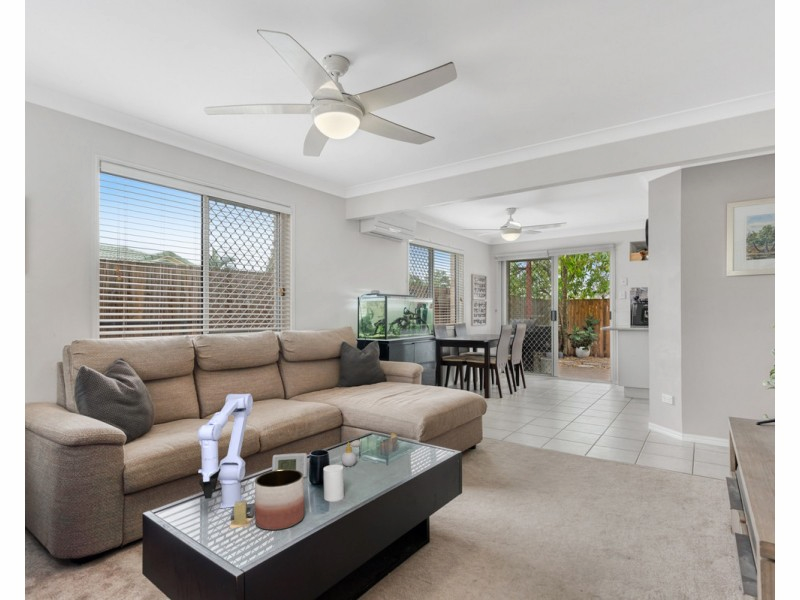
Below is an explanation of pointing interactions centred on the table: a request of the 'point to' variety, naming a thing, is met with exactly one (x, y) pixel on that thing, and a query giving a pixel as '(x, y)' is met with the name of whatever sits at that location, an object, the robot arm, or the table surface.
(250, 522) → the coaster
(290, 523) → the planter
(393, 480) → the table surface
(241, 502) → the brushed brass bar
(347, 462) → the perfume bottle
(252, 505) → the grey square frame
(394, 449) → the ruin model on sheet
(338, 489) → the cup
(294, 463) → the digital clock
